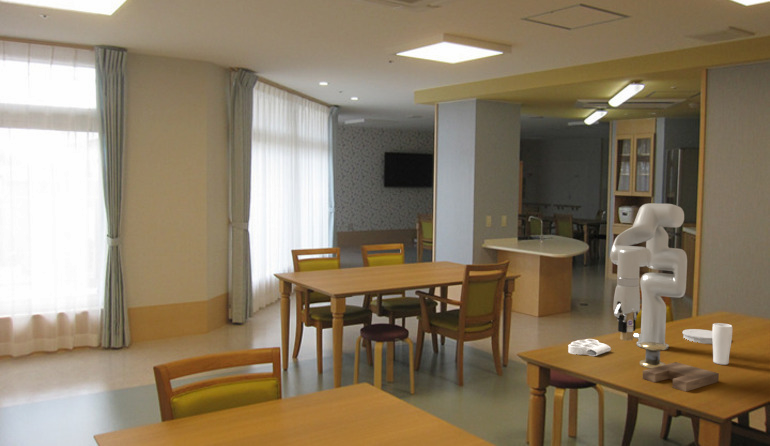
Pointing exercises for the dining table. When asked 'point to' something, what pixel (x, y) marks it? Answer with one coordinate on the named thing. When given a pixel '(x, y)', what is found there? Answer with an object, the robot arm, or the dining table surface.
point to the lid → (698, 335)
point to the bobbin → (652, 354)
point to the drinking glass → (721, 342)
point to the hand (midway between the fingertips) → (626, 330)
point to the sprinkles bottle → (628, 328)
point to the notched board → (681, 376)
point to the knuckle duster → (588, 347)
